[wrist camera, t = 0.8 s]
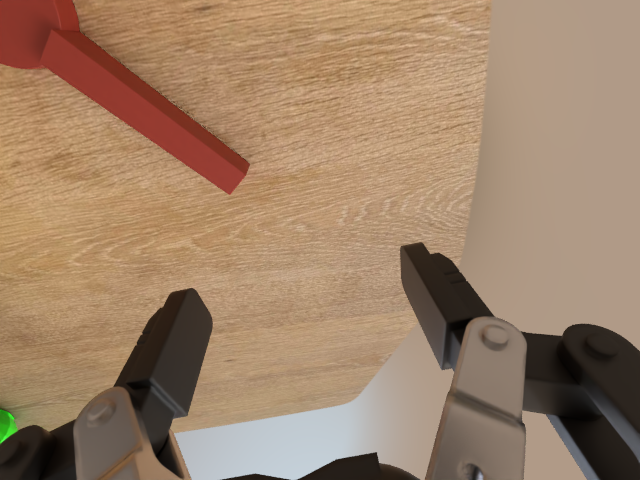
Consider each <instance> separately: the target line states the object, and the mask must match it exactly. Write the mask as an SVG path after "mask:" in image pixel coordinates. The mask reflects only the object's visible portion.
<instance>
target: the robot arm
mask: <svg viewBox="0 0 640 480" xmlns="http://www.w3.org/2000/svg"><path fill="white" fill-rule="evenodd" d="M400 259H401V279H402V284H403V288H404V291H405V293H406V295H407V297H408V300H409V302H410V304H411V306H412V308H413V310H414V312H415V314H416V317H417V319H418V321H419V323H420V325H421V327H422V329H423V331H424V333H425V336H426V338H427V340H428V342H429V344H430V346H431V348H432V351H433V353H434V355H435V357H436V359H437V361H438V363H439V365H440V368H441V369H442V370H445V369H451V368H452V369H453V371H454V376H453V380H452V384H451V387H450V391H449V392H448V394H447V397H446V401H445V405H444V408H443V412H442V416H441V420H440V424H439V428H438V431H437V435H436V439H435V443H434V447H433V451H432V454H431V458H430V462H429V466H428V470H427V474H426V477H425V480H523V479H524V462H525V445H526V429H525V424H524V423H522V410H524V411H530V412H536V413H543V414H546V416H547V417H548V419H549V420H550V422H551V423H552V425H553V427H554V428H555V430H556V431H557V433H558V434H559V436H560V438H561V439H562V441H563V442H564V444H565V445H566V447H567V448H568V450H569V452H570V453H571V455H572V456H573V458H574V459H575V461H576V463H577V464H578V466H579V467H580V469H581V470H582V472H583V474H584V475H585V477H586V478H587V480H640V351H639V350H638V349H637V348H635V347H634V346H633V345H632V344H631V343H630V342H629V341H628V340H626V339H625V338H623V337H622V336H620V335H619V334H617V333H615V332H613V331H611V330H609V329H606V328H603V327H600V326H596V325H591V324H576V325H572V326H570V327H568V328H567V329H566V330H565V331H564V333H563V335H562V336H555V335H544V334H532V333H526V332H522V331H519V330H518V329H517V328H516V327H515V326H514V325H512V324H510V323H509V322H507V321H505V320H502V319H499V318H496V317H495V316H494V315H493V314H492V313H491V311H490V310H489V309H488V307H487V306H486V305H485V304H484V302H483V301H482V300H481V299H480V297H479V296H478V294H477V293H476V292H475V291H474V289H473V288H472V287H471V285H470V284H469V283H468V281H466V279H465V277H464V276H463V275H462V273H460V272H459V270H458V268H457V267H456V266H455V264H454V263H453V262H452V260H450V259H449V258H447V257H445V256H444V255H442V254H440V253H435V254H430V253H429V251H428V250H427V249H426V247H425V246H424V244H423V243H422V242H419V243H414V244H409V245H404V246H401V248H400ZM212 327H213V322H212V317H211V314H210V312H209V311H208V309H207V308H206V306H205V304H204V303H203V301H202V299H201V298H200V296H199V295H198V293H197V291H196V290H195V289H193V288H189V289H185V290H180V291H175V292H172V293H170V295H169V296H168V298H167V300H166V302H165V304H164V306H163V308H160V309H159V310H158V311H157V312H156V313H155V314H154V315H153V316H152V317H151V318H150V319H149V321H148V323H147V325H146V327H145V328H144V330H143V332H142V333H143V335H141V336H140V338H139V340H138V342H137V345H136V346H135V347H134V349H133V351H132V353H131V355H130V357H129V358H128V360H127V362H126V364H125V366H124V368H123V370H122V372H121V373H120V375H119V377H118V379H117V381H116V383H115V385H114V386H113V387H112V388H109V389H107V390H105V391H103V392H101V393H100V394H98V395H97V396H96V397H94V398H93V399H92V400H91V401H90V402H89V403H88V404H87V405H86V406H85V407H84V408H83V410H82V411H81V412H80V414H79V415H78V417H77V419H75V420H73V421H71V422H69V423H67V424H65V425H63V426H61V427H58V428H56V429H54V430H52V431H50V432H48V431H47V430H45V429H43V428H42V427H40V426H37V425H32V426H28V427H25V428H22V429H20V430H19V431H17V432H15V433H14V434H12V435H11V436H9V437H8V438H7V439H5V440H4V441H3V442H2V443H1V444H0V480H192V479H191V477H190V474H189V472H188V469H187V467H186V464H185V461H184V459H183V456H182V454H181V451H180V448H179V446H178V443H177V441H176V438H175V436H174V433H173V431H172V430H171V429H170V426H171V423H172V420H173V419H174V418H180V417H185V416H187V415H188V412H189V408H190V405H191V401H192V398H193V394H194V391H195V387H196V384H197V380H198V377H199V373H200V370H201V366H202V363H203V360H204V356H205V353H206V349H207V346H208V342H209V339H210V335H211V332H212ZM222 480H289V479H283V478H277V477H271V476H266V475H260V474H251V475H245V476H240V477H234V478H228V479H222ZM298 480H420V479H418V478H417V477H415V476H414V475H412V474H410V473H409V472H406V471H404V470H402V469H400V468H397V467H394V466H391V465H387V464H381V463H379V461H378V456H377V452H376V453H370V454H364V455H359V456H354V457H347V458H342V459H337V460H335V461H333V462H331V463H329V464H327V465H325V466H323V467H321V468H319V469H317V470H315V471H314V472H312V473H310V474H308V475H306V476H304V477H302V478H300V479H298Z"/></svg>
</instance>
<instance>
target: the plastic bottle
mask: <svg viewBox="0 0 640 480" xmlns="http://www.w3.org/2000/svg"><path fill="white" fill-rule="evenodd" d="M14 419H15V418H14V417H13V416H12V415H11V414H10V413H9V412H6V411H4V410H1V409H0V444H1V443H2V442H3V441H4V440H5V439H7V438H8V437H9V436H11V435H12V434H14V433H15V432H17V431H18V429H17V427H16V424H15V422H14V421H13V420H14Z"/></svg>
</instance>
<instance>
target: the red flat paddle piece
mask: <svg viewBox="0 0 640 480" xmlns="http://www.w3.org/2000/svg"><path fill="white" fill-rule="evenodd" d="M0 63H1V64H4V65H7V66H10V67H14V68H21V69H35V68H48V69H49V70H50V71H52V72H53V73H55V74H56V75H58V76H59V77H61V78H62V79H63V80H65V81H66V82H68V83H69V84H71V85H72V86H74V87H75V88H76V89H78V90H79V91H81V92H82V93H84V94H85V95H86V96H88V97H89V98H91V99H92V100H94V101H95V102H97V103H98V104H99V105H101V106H102V107H104V108H105V109H107V110H108V111H109V112H111V113H112V114H114V115H115V116H117V117H118V118H120V119H121V120H122V121H124V122H125V123H127V124H128V125H130V126H131V127H133V128H134V129H135V130H137V131H138V132H140V133H141V134H143V135H144V136H145V137H147V138H148V139H150V140H151V141H153V142H154V143H156V144H157V145H158V146H160V147H161V148H163V149H164V150H166V151H167V152H169V153H170V154H171V155H173V156H174V157H176V158H177V159H179V160H180V161H181V162H183V163H184V164H186V165H187V166H189V167H190V168H192V169H193V170H194V171H196V172H197V173H199V174H200V175H202V176H203V177H204V178H206V179H207V180H209V181H210V182H212V183H213V184H215V185H216V186H217V187H219V188H220V189H222V190H223V191H225V192H226V193H228V194H229V195H230V194H231V193H232V192H233V191H234V189H235V188H236V187H237V186H238V184H239V183H240V182H241V181H242V179H243V178H244V177H245V176H246V174H247V171H248V168H249V166H250V164H249V163H248V162H247V161H245V160H244V159H243V158H242V157H240V156H239V155H238V154H236V153H235V152H234V151H233V150H231V149H230V148H229V147H227V146H226V145H225V144H224V143H222V142H221V141H220V140H218V139H217V138H216V137H215V136H213V135H212V134H211V133H209V132H208V131H207V130H206V129H204V128H203V127H202V126H200V125H199V124H198V123H197V122H195V121H194V120H193V119H191V118H190V117H189V116H188V115H186V114H185V113H184V112H182V111H181V110H180V109H179V108H177V107H176V106H175V105H173V104H172V103H171V102H170V101H168V100H167V99H166V98H164V97H163V96H162V95H161V94H159V93H158V92H157V91H155V90H154V89H153V88H152V87H150V86H149V85H148V84H146V83H145V82H144V81H143V80H141V79H140V78H139V77H137V76H136V75H135V74H134V73H132V72H131V71H130V70H128V69H127V68H126V67H125V66H123V65H122V64H121V63H119V62H118V61H117V60H116V59H114V58H113V57H112V56H110V55H109V54H108V53H107V52H105V51H104V50H103V49H101V48H100V47H99V46H98V45H96V44H95V43H94V42H92V41H91V40H90V39H88V38H87V37H86V36H85V35H83V34H82V33H81V32H79V21H78V17H77V13H76V10H75V7H74V4H73V2H72V0H0Z"/></svg>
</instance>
